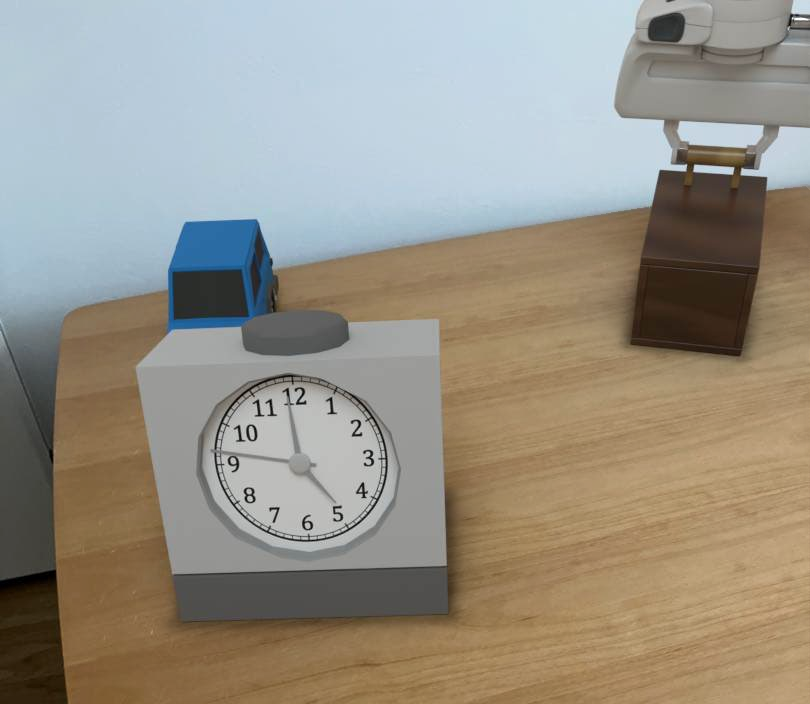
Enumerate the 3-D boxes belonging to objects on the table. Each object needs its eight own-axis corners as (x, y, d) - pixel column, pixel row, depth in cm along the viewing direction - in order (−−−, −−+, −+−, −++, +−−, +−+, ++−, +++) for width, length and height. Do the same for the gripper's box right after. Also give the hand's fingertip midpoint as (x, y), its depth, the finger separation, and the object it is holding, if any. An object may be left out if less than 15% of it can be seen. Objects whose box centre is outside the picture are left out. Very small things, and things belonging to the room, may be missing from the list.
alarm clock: (180, 621, 77) (113, 408, 63) (211, 485, 88) (159, 278, 74) (448, 614, 76) (440, 395, 62) (444, 477, 88) (437, 266, 73)
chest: (646, 271, 110) (656, 194, 104) (746, 280, 108) (762, 202, 102) (630, 344, 100) (639, 264, 94) (740, 356, 98) (757, 275, 92)
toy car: (162, 407, 97) (138, 317, 90) (197, 302, 111) (178, 217, 104) (258, 405, 97) (241, 314, 90) (281, 299, 110) (267, 213, 103)
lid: (658, 176, 104) (664, 132, 100) (766, 183, 101) (775, 138, 98) (640, 264, 94) (645, 218, 91) (757, 274, 92) (768, 228, 88)
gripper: (863, 4, 89) (826, 157, 98) (627, -2, 93) (614, 145, 103) (865, 28, 84) (826, 186, 94) (618, 21, 89) (606, 172, 99)
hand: (714, 164), depth 99 cm, fingers closed on lid, 5 cm apart
